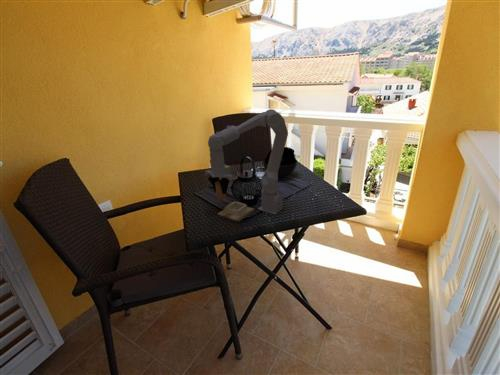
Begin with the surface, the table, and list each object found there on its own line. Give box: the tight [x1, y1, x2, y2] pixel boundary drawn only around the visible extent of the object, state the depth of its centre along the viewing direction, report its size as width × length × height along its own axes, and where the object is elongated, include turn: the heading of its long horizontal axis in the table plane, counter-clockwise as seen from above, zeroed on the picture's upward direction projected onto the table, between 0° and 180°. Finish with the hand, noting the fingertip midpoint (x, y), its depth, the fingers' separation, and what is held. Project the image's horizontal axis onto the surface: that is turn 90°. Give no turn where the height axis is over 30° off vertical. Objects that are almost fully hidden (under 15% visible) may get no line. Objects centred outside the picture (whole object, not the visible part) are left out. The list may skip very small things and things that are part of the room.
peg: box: [215, 180, 227, 201], centre depth 116 cm, size 4×4×8 cm
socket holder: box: [217, 201, 255, 222], centre depth 120 cm, size 12×12×3 cm
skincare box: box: [219, 164, 233, 189], centre depth 147 cm, size 6×4×12 cm
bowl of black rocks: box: [262, 146, 298, 179], centre depth 155 cm, size 20×20×19 cm
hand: (220, 192), depth 117 cm, fingers closed on peg, 4 cm apart
